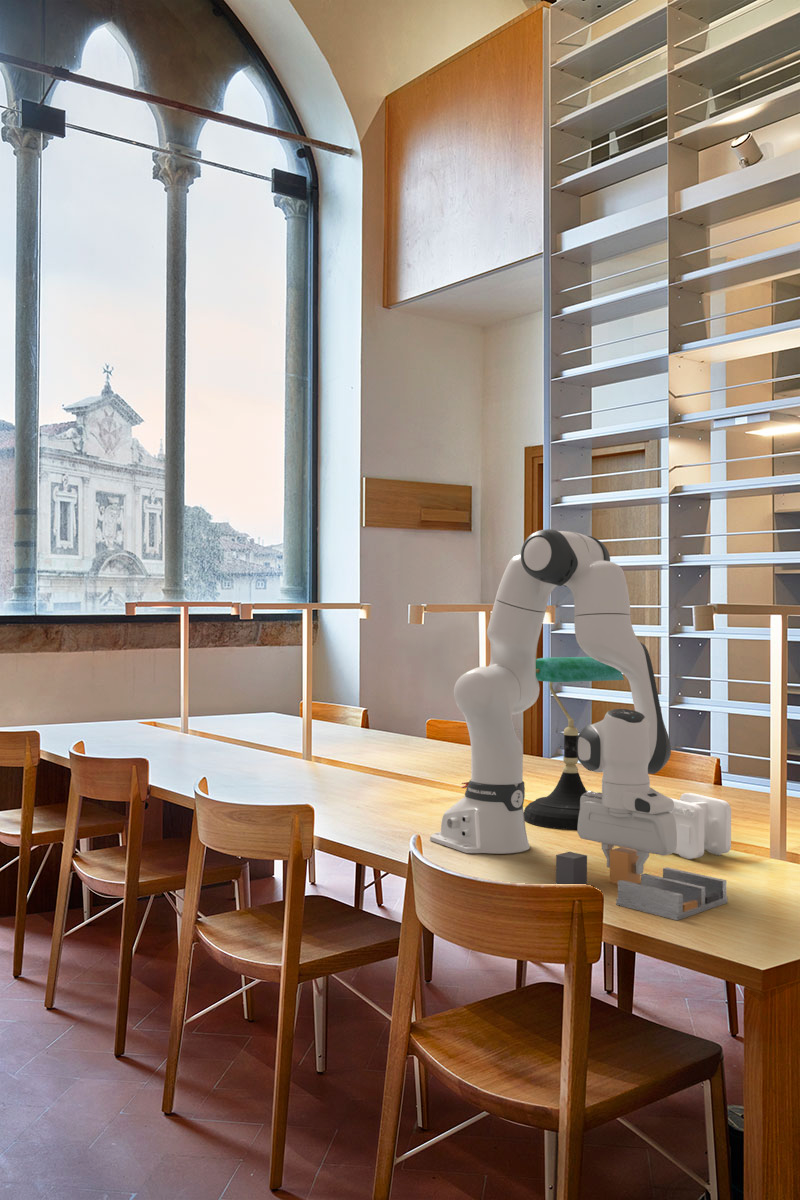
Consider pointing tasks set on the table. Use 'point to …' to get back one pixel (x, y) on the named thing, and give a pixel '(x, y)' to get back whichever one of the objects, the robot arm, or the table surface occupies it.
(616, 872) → the orange block
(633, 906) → the gray divided tray
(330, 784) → the table surface
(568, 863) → the dark gray block
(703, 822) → the cable organizer
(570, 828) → the banker's lamp
